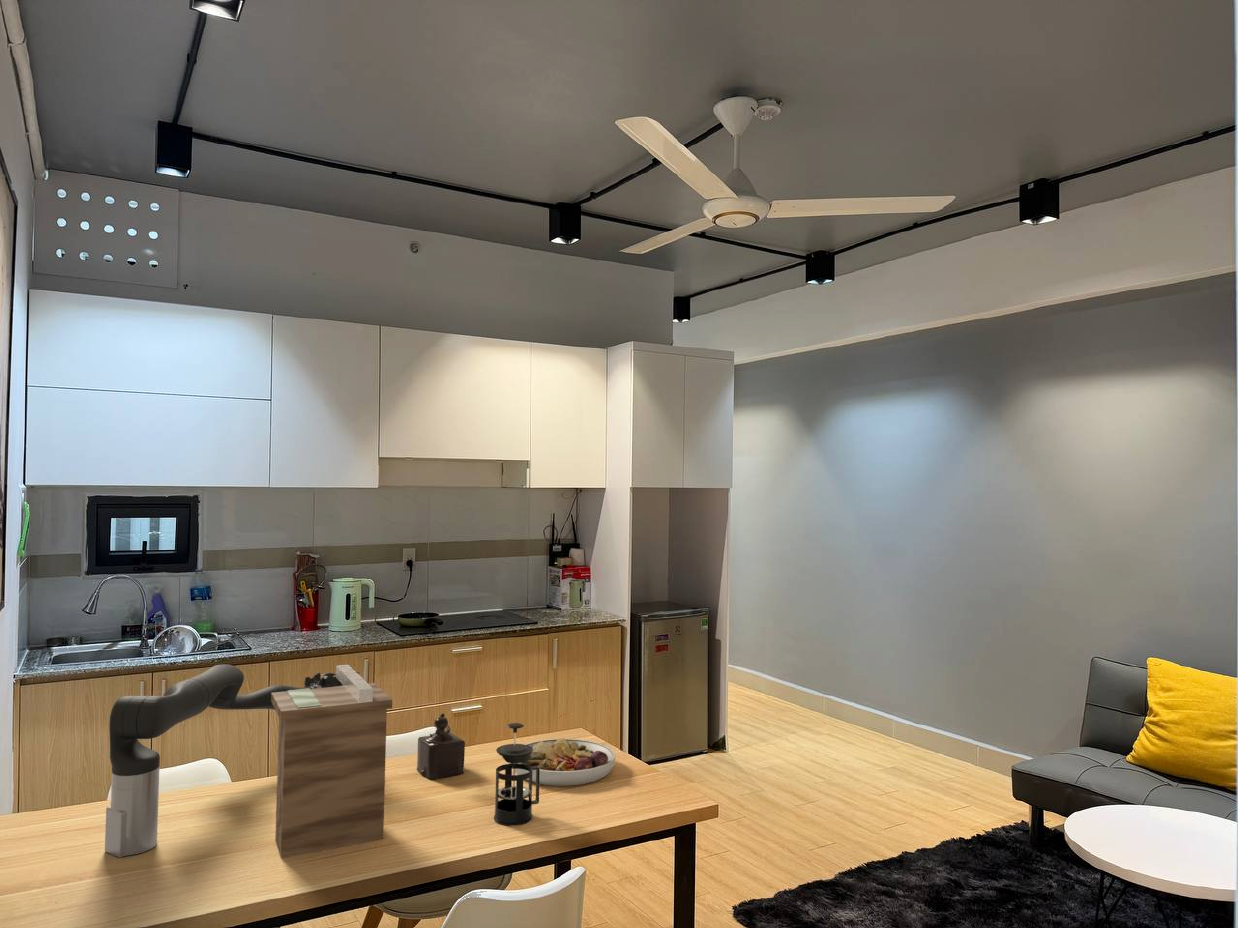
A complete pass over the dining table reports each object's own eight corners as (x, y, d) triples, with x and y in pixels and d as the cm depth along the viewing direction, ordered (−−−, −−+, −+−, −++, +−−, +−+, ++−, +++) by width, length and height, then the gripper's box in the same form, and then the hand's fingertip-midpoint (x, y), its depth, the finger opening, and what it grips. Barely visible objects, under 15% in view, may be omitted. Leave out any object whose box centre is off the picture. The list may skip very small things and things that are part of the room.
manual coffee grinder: (413, 770, 238) (415, 707, 238) (449, 763, 244) (451, 701, 245) (435, 786, 225) (437, 719, 226) (472, 779, 231) (474, 714, 232)
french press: (498, 828, 198) (500, 731, 199) (486, 814, 207) (488, 721, 207) (544, 821, 203) (546, 726, 204) (531, 807, 212) (533, 716, 212)
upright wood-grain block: (388, 839, 191) (392, 698, 192) (276, 860, 179) (281, 710, 180) (371, 812, 207) (374, 682, 208) (267, 829, 195) (271, 691, 196)
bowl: (489, 777, 234) (490, 749, 234) (547, 749, 260) (547, 723, 261) (581, 797, 220) (582, 767, 220) (632, 765, 246) (633, 738, 247)
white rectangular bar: (372, 701, 190) (372, 688, 190) (359, 702, 188) (359, 689, 188) (348, 676, 214) (348, 664, 214) (336, 677, 213) (336, 665, 213)
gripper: (299, 679, 236) (307, 663, 223) (351, 674, 242) (361, 658, 230) (300, 705, 233) (308, 691, 220) (353, 699, 239) (363, 685, 227)
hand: (335, 674), depth 225 cm, fingers open, 8 cm apart
